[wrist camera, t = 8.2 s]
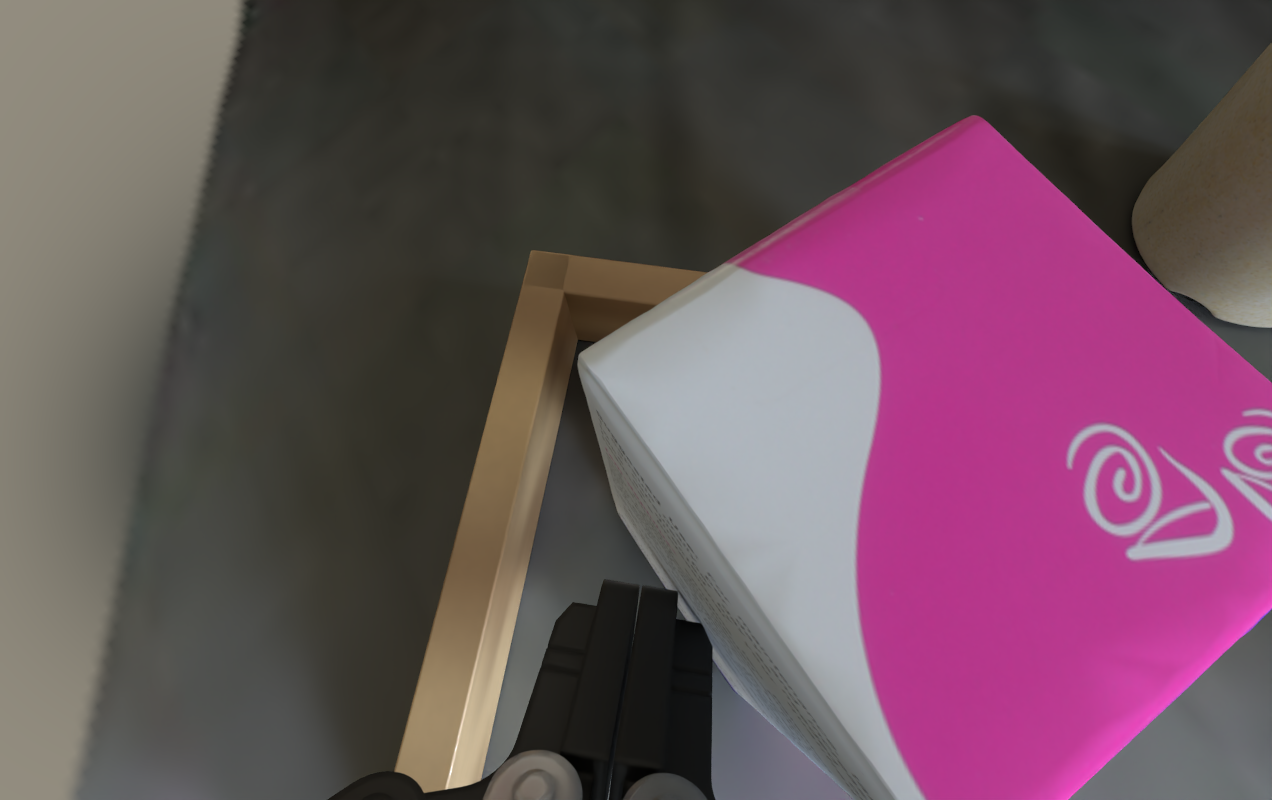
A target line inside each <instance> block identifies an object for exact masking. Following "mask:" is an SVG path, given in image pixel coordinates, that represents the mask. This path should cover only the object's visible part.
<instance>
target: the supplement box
mask: <svg viewBox="0 0 1272 800" xmlns="http://www.w3.org/2000/svg"><path fill="white" fill-rule="evenodd" d="M577 366H578V371H579V375H580V379H581V383H582V386H583V390H584V393H585V396H586V399H587V403H588V407H589V410H590V413H591V418H592V422H593V425H594V429H595V432H596V436H597V439H598V443H599V446H600V450H601V453H602V458H603V461H604V465H605V468H606V472H607V476H608V480H609V483H610V488H611V492H612V496H613V499H614V502H615V505H616V510H617V512H618V514H619V516H620V518H621V520H622V521H623V523H624V524H625V526H626V527H627V529H628V531H629V532H630V534H631V535H632V537H633V538H634V540H635V541H636V543H637V545H638V546H639V548H640V549H641V551H642V552H643V554H644V555H645V557H646V559H647V560H648V562H649V563H650V565H651V566H652V568H653V569H654V571H655V573H656V574H657V576H658V577H659V579H660V580H661V582H662V583H663V585H664V587H665V588H666V589H669V590H675V591H678V604H677V606H678V608H679V609H680V611H681V612H682V614H683V615H684V617H685V618H686V620H687V621H691V622H697V623H701V624H702V625H703V627H704V629H705V631H706V633H707V635H708V638H709V640H710V642H711V644H712V646H713V654H712V660H713V661H714V663H715V664H716V666H717V667H718V669H719V670H720V672H721V673H722V675H723V676H724V678H725V679H726V681H727V682H728V683H729V685H730V686H731V688H732V689H733V690H734V691H735V692H736V693H738V694H739V695H740V696H741V697H742V698H743V699H745V700H746V701H747V702H748V703H749V704H751V705H752V706H753V707H754V708H755V709H756V710H757V711H758V712H759V713H760V714H762V715H763V716H764V717H765V718H766V719H767V720H768V721H769V722H770V723H771V724H772V725H773V726H774V727H775V728H776V729H777V730H778V731H779V732H781V733H782V734H783V735H784V736H786V737H787V738H788V739H789V740H790V741H791V742H792V743H793V744H794V745H795V746H796V747H797V748H798V749H799V750H800V751H802V752H803V753H804V754H805V755H806V756H807V757H808V758H809V759H810V760H811V761H812V762H814V763H815V764H816V765H817V766H818V767H819V768H820V769H821V770H822V771H823V772H825V773H826V774H827V775H828V776H829V777H830V778H831V779H832V780H834V781H835V782H836V784H837V785H838V786H839V787H840V788H841V789H843V790H844V791H845V792H846V793H847V794H848V795H849V796H850V797H851V798H853V799H854V800H1068V799H1069V798H1070V797H1071V796H1072V795H1073V794H1074V793H1075V792H1076V791H1078V790H1079V789H1080V788H1081V787H1082V786H1083V785H1084V784H1085V783H1086V782H1087V781H1088V780H1089V779H1090V778H1091V777H1093V776H1094V775H1095V774H1096V773H1097V772H1098V771H1099V770H1100V769H1101V768H1102V767H1103V766H1104V765H1105V764H1106V763H1108V762H1109V761H1110V760H1111V759H1112V758H1113V757H1114V756H1115V755H1116V754H1117V753H1118V752H1119V751H1120V750H1121V749H1123V748H1124V747H1125V746H1126V745H1127V744H1128V743H1129V742H1130V741H1131V740H1132V739H1133V738H1134V737H1135V736H1136V735H1138V734H1139V733H1140V732H1141V731H1142V730H1143V729H1144V728H1145V727H1146V726H1147V725H1148V724H1149V723H1150V722H1151V721H1153V720H1154V719H1155V718H1156V717H1157V716H1158V715H1159V714H1160V713H1161V712H1162V711H1163V710H1164V709H1165V708H1167V707H1168V706H1169V705H1170V704H1171V703H1172V702H1173V701H1174V700H1175V699H1176V698H1177V697H1178V696H1179V695H1180V694H1182V693H1183V692H1184V691H1185V690H1186V689H1187V688H1188V687H1189V686H1190V685H1191V684H1192V683H1193V682H1194V681H1195V680H1196V679H1197V678H1198V677H1199V676H1201V675H1202V674H1203V673H1204V672H1205V671H1206V670H1207V669H1208V668H1209V667H1210V666H1211V665H1212V664H1213V663H1214V662H1215V661H1216V660H1217V659H1218V658H1219V657H1220V656H1221V655H1222V654H1223V653H1224V652H1225V651H1227V650H1228V649H1229V648H1230V647H1231V646H1232V645H1233V644H1234V643H1235V642H1236V641H1237V640H1238V639H1240V638H1241V637H1242V636H1244V635H1245V634H1246V633H1247V632H1249V631H1250V630H1251V629H1252V628H1253V627H1254V626H1255V625H1256V624H1257V623H1258V622H1259V621H1260V620H1261V619H1262V618H1263V617H1264V616H1265V615H1266V614H1267V613H1268V612H1269V611H1271V610H1272V383H1271V382H1270V381H1269V380H1268V379H1267V378H1266V377H1264V376H1263V375H1262V374H1261V373H1260V372H1259V371H1257V370H1256V369H1255V368H1254V367H1253V366H1252V365H1251V364H1249V363H1248V362H1247V361H1246V360H1245V359H1244V358H1243V357H1241V356H1240V355H1239V354H1238V353H1237V352H1236V351H1234V350H1233V349H1232V348H1231V347H1230V346H1229V345H1228V344H1226V343H1225V342H1224V341H1223V340H1222V339H1221V338H1220V337H1218V336H1217V335H1216V334H1215V333H1214V332H1213V331H1212V330H1210V329H1209V328H1208V327H1207V326H1206V325H1205V324H1203V323H1202V322H1201V321H1200V320H1199V319H1198V318H1197V317H1196V316H1195V315H1193V314H1192V313H1191V312H1190V311H1189V310H1188V309H1187V308H1186V307H1185V306H1183V305H1182V304H1181V303H1180V302H1179V301H1178V300H1177V299H1176V298H1175V297H1174V296H1173V295H1171V294H1170V293H1169V292H1168V291H1167V290H1166V289H1165V288H1164V287H1163V286H1161V285H1160V284H1159V283H1158V282H1157V281H1156V280H1155V279H1154V278H1153V277H1152V276H1151V275H1150V274H1148V273H1147V272H1146V271H1145V270H1144V269H1143V268H1142V267H1141V266H1140V265H1139V264H1138V263H1137V262H1136V261H1135V260H1134V259H1132V258H1131V257H1130V256H1129V255H1128V254H1127V253H1126V252H1125V251H1124V250H1123V249H1122V248H1120V247H1119V246H1118V245H1117V244H1116V243H1115V242H1114V241H1113V240H1112V239H1111V238H1110V237H1108V236H1107V235H1106V234H1105V233H1104V232H1103V231H1102V230H1101V229H1100V228H1099V227H1098V226H1097V225H1095V224H1094V223H1093V222H1092V221H1091V220H1090V219H1089V218H1088V217H1087V216H1086V215H1085V214H1084V213H1083V212H1082V211H1081V210H1080V209H1079V208H1078V207H1077V206H1076V205H1075V204H1074V203H1072V202H1071V201H1070V200H1069V199H1068V198H1067V197H1066V196H1065V195H1064V194H1063V193H1062V192H1061V191H1060V190H1059V189H1058V188H1056V187H1055V186H1054V185H1053V184H1052V183H1051V182H1050V181H1049V180H1048V179H1047V178H1046V177H1045V176H1044V175H1043V174H1041V173H1040V172H1039V171H1038V170H1037V169H1036V168H1035V167H1034V166H1033V165H1032V164H1031V163H1030V162H1029V161H1027V160H1026V159H1025V158H1024V157H1023V156H1022V155H1021V154H1020V153H1019V152H1018V151H1017V150H1016V149H1015V148H1014V147H1013V146H1012V145H1011V144H1010V143H1009V142H1008V141H1007V140H1006V139H1005V138H1003V137H1002V136H1001V135H1000V134H999V133H998V132H997V131H996V130H995V129H994V128H993V127H992V126H991V125H990V124H989V123H988V122H987V121H986V120H984V119H983V118H981V117H979V116H975V115H972V116H970V117H967V118H965V119H963V120H961V121H959V122H957V123H955V124H953V125H952V126H950V127H948V128H946V129H944V130H942V131H941V132H939V133H937V134H935V135H934V136H932V137H930V138H929V139H927V140H925V141H923V142H922V143H920V144H918V145H917V146H915V147H913V148H912V149H910V150H908V151H907V152H905V153H903V154H901V155H900V156H898V157H896V158H895V159H893V160H891V161H889V162H888V163H886V164H884V165H882V166H881V167H879V168H878V169H876V170H875V171H873V172H872V173H870V174H869V175H867V176H866V177H864V178H863V179H861V180H859V181H858V182H856V183H854V184H852V185H851V186H849V187H847V188H846V189H844V190H842V191H840V192H838V193H836V194H835V195H833V196H831V197H829V198H828V199H826V200H825V201H823V202H822V203H820V204H819V205H817V206H815V207H814V208H812V209H810V210H809V211H807V212H805V213H804V214H802V215H800V216H799V217H797V218H795V219H794V220H792V221H791V222H789V223H788V224H786V225H784V226H783V227H781V228H780V229H778V230H777V231H775V232H773V233H772V234H770V235H769V236H767V237H765V238H764V239H762V240H760V241H759V242H757V243H755V244H754V245H752V246H750V247H749V248H747V249H746V250H744V251H742V252H741V253H739V254H737V255H736V256H734V257H733V258H731V259H730V260H728V261H726V262H725V263H723V264H722V265H720V266H719V267H717V268H715V269H713V270H712V271H710V272H708V273H706V274H705V275H703V276H702V277H700V278H699V279H697V280H696V281H694V282H693V283H692V284H690V285H688V286H687V287H685V288H683V289H682V290H680V291H678V292H677V293H675V294H673V295H672V296H670V297H668V298H667V299H665V300H664V301H663V302H661V303H660V304H658V305H657V306H655V307H654V308H652V309H651V310H649V311H647V312H645V313H644V314H642V315H640V316H638V317H636V318H635V319H633V320H631V321H630V322H628V323H627V324H625V325H623V326H622V327H620V328H619V329H617V330H616V331H614V332H612V333H611V334H609V335H608V336H606V337H604V338H603V339H601V340H600V341H598V342H596V343H595V344H593V345H592V346H590V347H589V348H587V349H585V350H584V351H582V352H581V353H580V354H579V356H578V364H577Z"/></svg>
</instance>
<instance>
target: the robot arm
mask: <svg viewBox="0 0 1272 800" xmlns="http://www.w3.org/2000/svg"><path fill="white" fill-rule="evenodd" d="M639 588H640V585H637V584H630V583H624V582H618V581H612V580H606V579H604V581H603V584H602V587H601V591H600V595H599V599H598V603H597V606H593V605H587V604H581V603H575V602H573V603H572V604H571V605H570V606H569V607H568V608H567V609H566V610H565V611H564V612H563V614H562V615H561V616H560V617H559V618H558V619H557V620H556V622H555V625H554V628H553V631H552V634H551V637H550V640H549V643H548V648H547V649H546V652H545V655H544V658H543V661H542V666H541V668H540V671H539V674H538V677H537V680H536V683H535V686H534V689H533V692H532V695H531V698H530V701H529V704H528V707H527V710H526V713H525V716H524V719H523V722H522V725H521V728H520V731H519V734H518V737H517V740H516V743H515V745H514V748H513V750H512V752H511V753H510V755H509V757H508V758H507V759H506V760H505V762H504V763H503V764H502V765H501V766H500V767H499V768H498V769H497V770H496V771H495V772H493V773H492V774H491V775H489V776H488V777H486V778H484V779H482V780H480V781H478V782H476V783H473V784H471V785H467V786H463V787H458V788H452V789H445V790H439V791H433V792H427V793H424V792H423V790H422V788H421V787H420V785H419V784H418V783H417V782H416V781H415V780H414V779H413V778H411V777H410V776H407V775H405V774H403V773H399V772H391V771H386V772H378V773H374V774H370V775H368V776H365V777H363V778H361V779H359V780H357V781H356V782H354V783H352V784H351V785H349V786H347V787H346V788H344V789H343V790H341V791H340V792H338V793H337V794H335V795H334V796H332V797H331V798H329V799H328V800H607V799H608V793H609V787H610V794H609V800H715V797H714V794H713V790H712V782H711V745H712V654H713V646H712V644H711V642H710V640H709V638H708V635H707V633H706V631H705V629H704V627H703V625H702V624H701V623H697V622H691V621H685V620H679V619H676V616H677V604H678V591H675V590H669V589H662V588H656V587H650V586H644V585H643V586H642V591H641V597H640V603H639V609H638V616H637V622H636V628H635V620H636V612H637V604H638V596H639ZM634 628H635V634H634ZM633 637H634V640H633ZM632 644H633V646H632ZM612 768H613V769H612ZM611 774H612V778H611ZM610 781H611V786H610Z"/></svg>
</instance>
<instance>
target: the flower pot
mask: <svg viewBox="0 0 1272 800" xmlns="http://www.w3.org/2000/svg"><path fill="white" fill-rule="evenodd" d="M1132 229H1133V236H1134V239H1135V242H1136V245H1137V248H1138V250H1139V252H1140V254H1141V256H1142V258H1143V260H1144V262H1145V263H1146V265H1147V266H1148V268H1149V269H1150V270H1151V271H1152V273H1153V274H1154V275H1155V276H1156V278H1157V279H1158V280H1159V281H1160V282H1161V283H1162V284H1163V285H1164V286H1165V287H1166V288H1167V289H1169V290H1170V291H1173V292H1177V293H1181V294H1183V295H1186V296H1188V297H1190V298H1192V299H1194V300H1196V301H1197V302H1199V303H1201V304H1202V305H1203V306H1205V307H1206V308H1207V309H1208V310H1209V311H1210V312H1211V313H1212V315H1213V316H1214V317H1216V318H1218V319H1221V320H1224V321H1228V322H1231V323H1235V324H1240V325H1245V326H1252V327H1267V328H1271V327H1272V42H1271V44H1270V45H1269V46H1268V47H1267V48H1266V49H1265V50H1264V52H1263V53H1262V54H1261V55H1260V56H1259V57H1258V59H1257V60H1256V61H1255V62H1254V63H1253V64H1252V65H1251V67H1250V68H1249V69H1248V70H1247V71H1246V72H1245V74H1244V75H1243V76H1242V77H1241V78H1240V79H1239V80H1238V82H1237V83H1236V84H1235V85H1234V86H1233V87H1232V89H1231V90H1230V91H1229V92H1228V93H1227V94H1226V96H1225V97H1224V98H1223V99H1222V100H1221V101H1220V102H1219V103H1218V105H1217V106H1216V107H1215V108H1214V109H1213V110H1212V111H1211V113H1210V114H1209V115H1208V116H1207V117H1206V118H1205V119H1204V121H1203V122H1202V123H1201V124H1200V125H1199V126H1198V127H1197V129H1196V130H1195V131H1194V132H1193V133H1192V134H1191V135H1190V136H1189V137H1188V139H1187V140H1186V141H1185V142H1184V143H1183V144H1182V145H1181V146H1180V147H1179V149H1178V150H1177V151H1176V152H1175V153H1174V154H1173V155H1172V156H1171V157H1170V158H1169V159H1168V160H1167V162H1166V163H1165V164H1164V165H1163V166H1162V167H1161V168H1160V169H1159V170H1158V171H1157V172H1156V173H1155V174H1154V175H1153V176H1152V177H1151V178H1150V179H1149V180H1148V182H1147V183H1146V185H1145V186H1144V188H1143V190H1142V191H1141V193H1140V195H1139V197H1138V199H1137V201H1136V203H1135V205H1134V209H1133V214H1132Z"/></svg>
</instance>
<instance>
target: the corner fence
mask: <svg viewBox="0 0 1272 800" xmlns="http://www.w3.org/2000/svg"><path fill="white" fill-rule="evenodd" d="M706 273H707V272H699V271H692V270H684V269H676V268H668V267H660V266H653V265H645V264H637V263H629V262H621V261H613V260H606V259H598V258H590V257H582V256H574V255H567V254H559V253H552V252H544V251H536V250H532V251H531V253H530V257H529V261H528V264H527V268H526V272H525V276H524V280H523V283H522V287H521V291H520V295H519V299H518V302H517V306H516V310H515V314H514V318H513V321H512V325H511V329H510V333H509V337H508V340H507V344H506V348H505V352H504V356H503V359H502V363H501V367H500V371H499V375H498V378H497V382H496V386H495V390H494V394H493V397H492V401H491V405H490V409H489V413H488V416H487V420H486V424H485V428H484V432H483V435H482V439H481V443H480V447H479V451H478V454H477V458H476V462H475V466H474V470H473V473H472V477H471V481H470V485H469V489H468V492H467V496H466V500H465V504H464V508H463V511H462V515H461V519H460V523H459V527H458V530H457V534H456V538H455V542H454V546H453V549H452V553H451V557H450V561H449V565H448V568H447V572H446V576H445V580H444V584H443V587H442V591H441V595H440V599H439V603H438V606H437V610H436V614H435V618H434V622H433V625H432V629H431V633H430V637H429V641H428V644H427V648H426V652H425V656H424V660H423V663H422V667H421V671H420V675H419V679H418V682H417V686H416V690H415V694H414V698H413V701H412V705H411V709H410V713H409V717H408V720H407V724H406V728H405V732H404V736H403V739H402V743H401V747H400V751H399V755H398V758H397V762H396V766H395V770H394V772H399V773H403V774H405V775H407V776H410V777H411V778H413V779H414V780H415V781H416V782H417V783H418V784H419V785H420V787H421V788H422V790H423V792H424V793H427V792H433V791H439V790H445V789H452V788H458V787H463V786H467V785H471V784H473V783H476V782H478V781H480V780H481V777H482V773H483V768H484V764H485V759H486V755H487V750H488V745H489V741H490V736H491V732H492V727H493V723H494V718H495V714H496V709H497V705H498V700H499V695H500V691H501V686H502V682H503V677H504V673H505V668H506V664H507V659H508V655H509V650H510V645H511V641H512V636H513V632H514V627H515V623H516V618H517V614H518V609H519V605H520V600H521V595H522V591H523V586H524V582H525V577H526V573H527V568H528V564H529V559H530V555H531V550H532V546H533V541H534V536H535V532H536V527H537V523H538V518H539V514H540V509H541V505H542V500H543V496H544V491H545V486H546V482H547V477H548V473H549V468H550V464H551V459H552V455H553V450H554V446H555V441H556V436H557V432H558V427H559V423H560V418H561V414H562V409H563V405H564V400H565V396H566V391H567V387H568V382H569V377H570V373H571V368H572V364H573V359H574V355H575V350H576V346H577V341H578V340H584V341H591V342H598V341H600V340H601V339H603V338H604V337H606V336H608V335H609V334H611V333H612V332H614V331H616V330H617V329H619V328H620V327H622V326H623V325H625V324H627V323H628V322H630V321H631V320H633V319H635V318H636V317H638V316H640V315H642V314H644V313H645V312H647V311H649V310H651V309H652V308H654V307H655V306H657V305H658V304H660V303H661V302H663V301H664V300H665V299H667V298H668V297H670V296H672V295H673V294H675V293H677V292H678V291H680V290H682V289H683V288H685V287H687V286H688V285H690V284H692V283H693V282H694V281H696V280H697V279H699V278H700V277H702V276H703V275H705V274H706Z"/></svg>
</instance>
